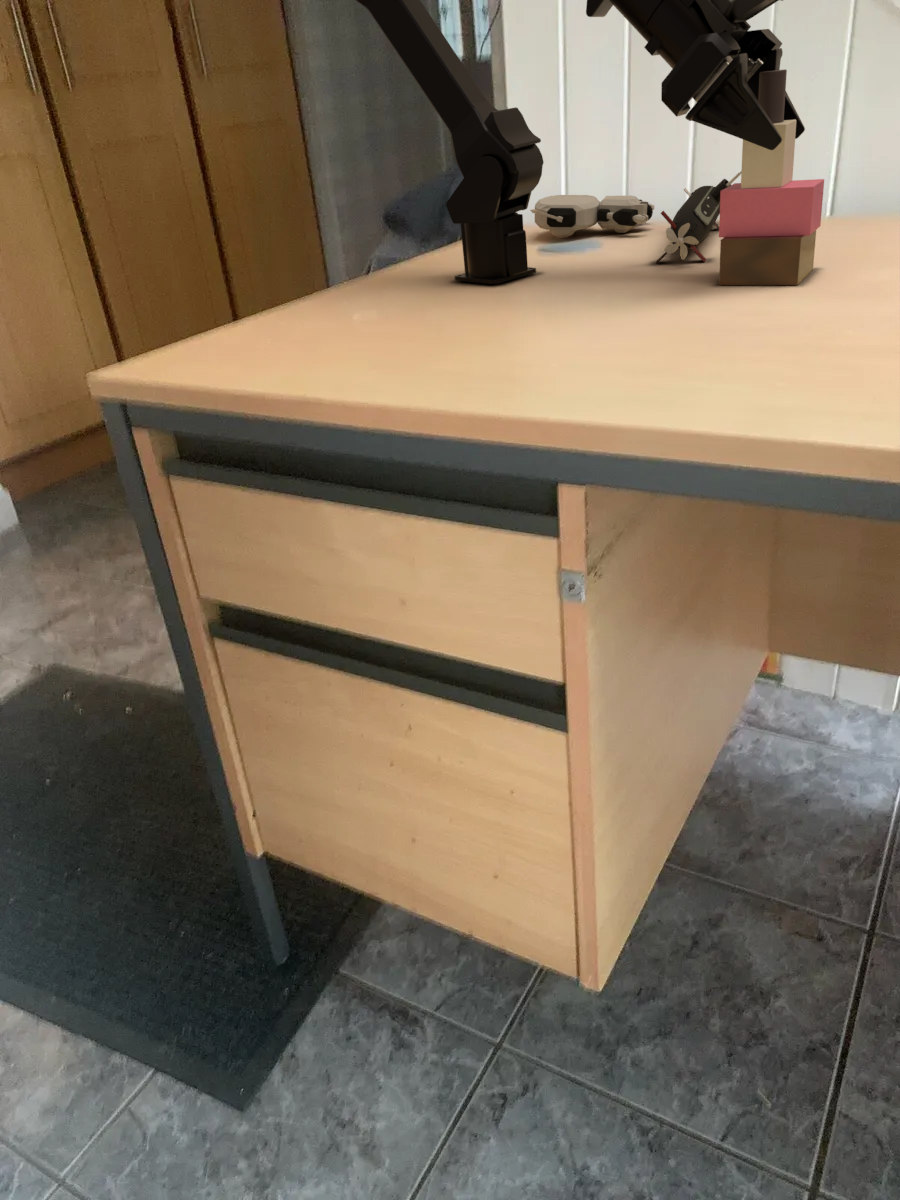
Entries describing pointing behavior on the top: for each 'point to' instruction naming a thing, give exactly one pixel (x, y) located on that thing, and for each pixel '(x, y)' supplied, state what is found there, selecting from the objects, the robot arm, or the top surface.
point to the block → (766, 260)
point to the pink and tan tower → (771, 180)
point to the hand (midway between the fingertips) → (789, 139)
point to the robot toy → (590, 213)
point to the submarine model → (694, 219)
